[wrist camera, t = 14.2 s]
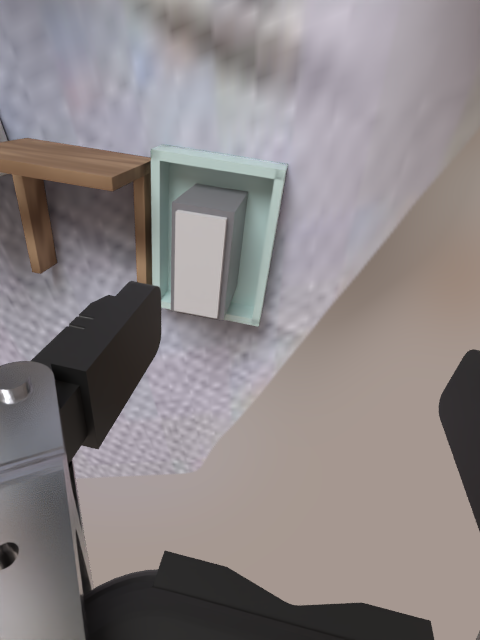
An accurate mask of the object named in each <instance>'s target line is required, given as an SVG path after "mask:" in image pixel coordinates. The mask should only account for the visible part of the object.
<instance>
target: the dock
mask: <svg viewBox="0 0 480 640" xmlns="http://www.w3.org/2000/svg"><path fill="white" fill-rule="evenodd" d="M0 172H1V173H7V174H12V176H13V181H14V186H15V191H16V196H17V201H18V205H19V210H20V215H21V220H22V225H23V229H24V234H25V239H26V244H27V249H28V254H29V258H30V263H31V268H32V272H35V273H40V274H41V273H43V272H44V271H46V270H47V269H49V268H50V267H52V266H53V265H55V264H56V263H57V260H56V254H55V248H54V242H53V236H52V229H51V223H50V217H49V211H48V205H47V199H46V193H45V187H44V181H43V180H49V181H55V182H60V183H66V184H72V185H78V186H84V187H90V188H96V189H102V190H108V191H115V190H117V189H119V188H121V187H123V186H125V185H127V184H129V183H131V182H133V186H134V212H135V238H136V265H137V282H139V283H144V284H149V285H152V217H151V158H149V157H143V156H136V155H130V154H124V153H118V152H111V151H105V150H99V149H93V148H86V147H80V146H74V145H68V144H61V143H55V142H49V141H43V140H36V139H30V138H24V139H18V140H12V141H6V142H0Z"/></svg>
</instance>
